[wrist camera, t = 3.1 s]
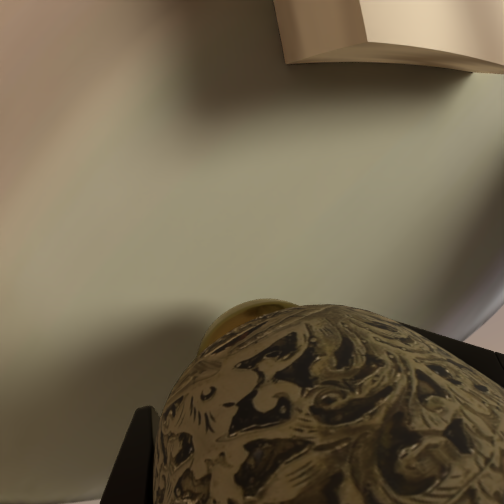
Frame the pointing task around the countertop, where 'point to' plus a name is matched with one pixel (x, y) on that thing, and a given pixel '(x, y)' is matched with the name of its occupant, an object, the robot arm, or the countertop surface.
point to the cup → (327, 415)
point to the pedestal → (395, 32)
